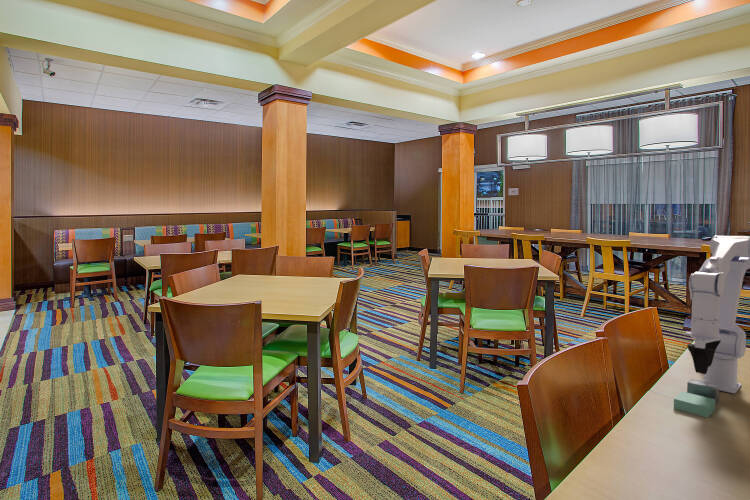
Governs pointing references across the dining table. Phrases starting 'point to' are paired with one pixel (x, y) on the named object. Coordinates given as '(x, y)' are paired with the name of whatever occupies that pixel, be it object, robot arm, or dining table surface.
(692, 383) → the housing
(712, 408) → the stand
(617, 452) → the dining table surface
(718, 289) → the robot arm
